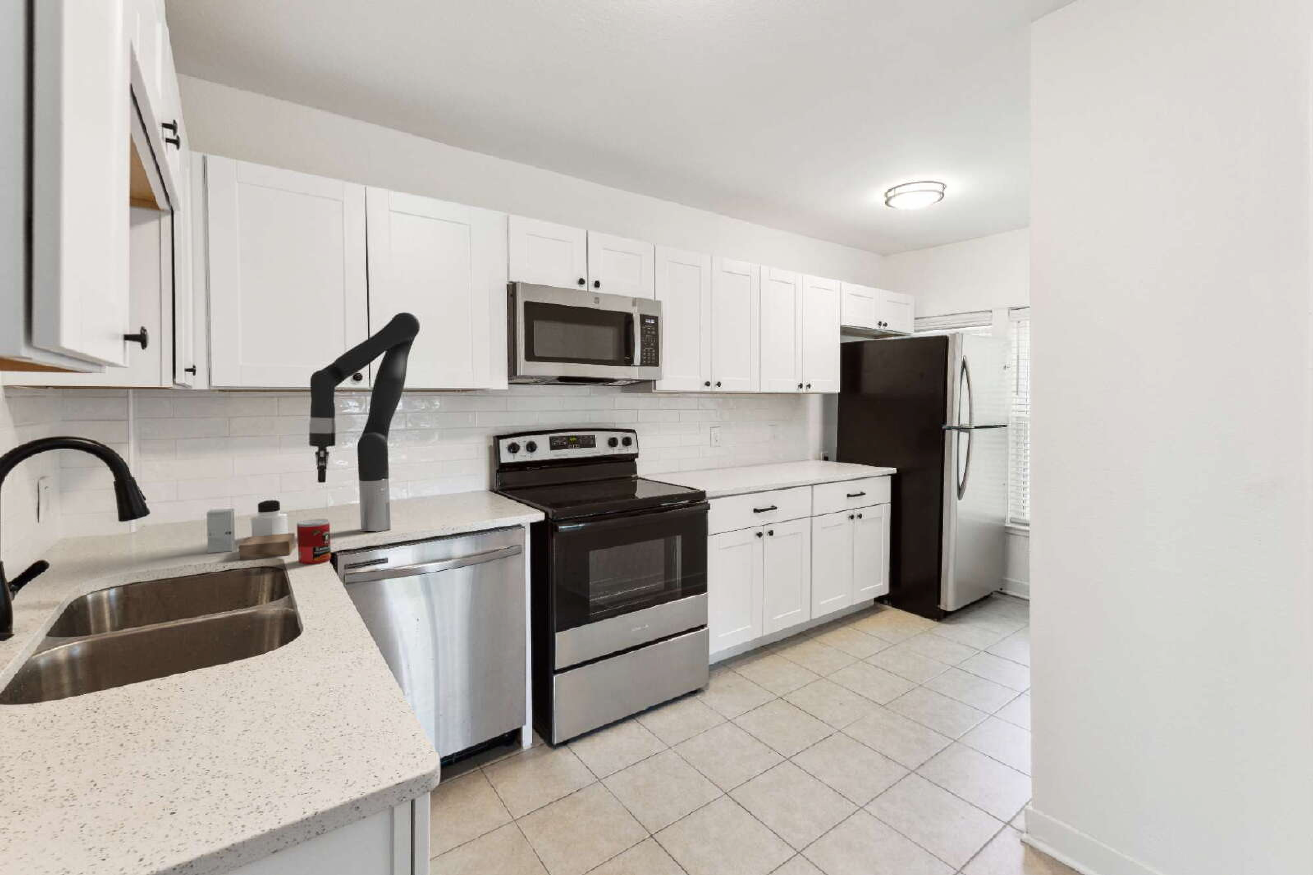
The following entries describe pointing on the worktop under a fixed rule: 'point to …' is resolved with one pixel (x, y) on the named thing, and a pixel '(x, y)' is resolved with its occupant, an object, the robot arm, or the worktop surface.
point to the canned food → (313, 541)
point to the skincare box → (220, 530)
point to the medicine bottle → (269, 519)
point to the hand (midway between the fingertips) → (321, 481)
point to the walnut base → (267, 546)
